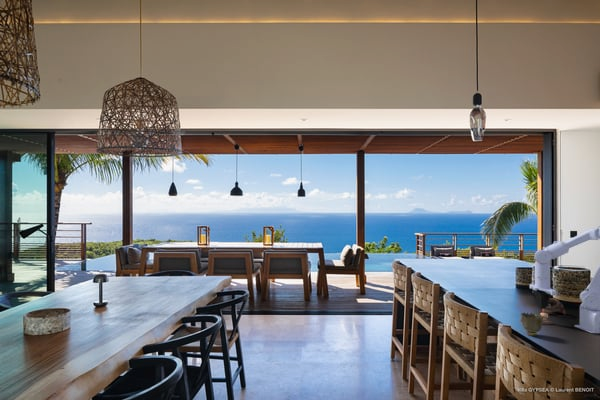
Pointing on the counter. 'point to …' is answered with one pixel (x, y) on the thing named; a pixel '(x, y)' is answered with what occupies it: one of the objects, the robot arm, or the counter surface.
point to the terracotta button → (544, 315)
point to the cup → (532, 323)
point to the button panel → (542, 321)
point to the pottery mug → (554, 306)
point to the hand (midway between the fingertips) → (542, 308)
